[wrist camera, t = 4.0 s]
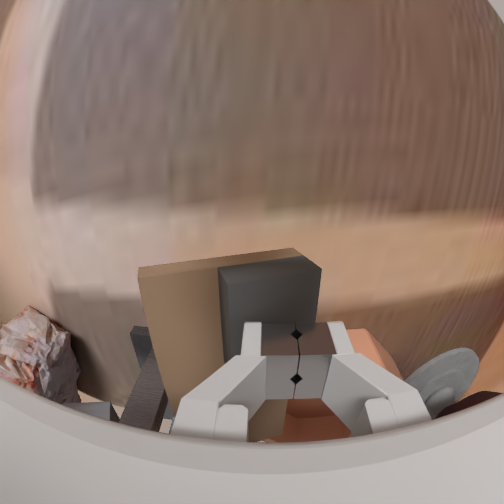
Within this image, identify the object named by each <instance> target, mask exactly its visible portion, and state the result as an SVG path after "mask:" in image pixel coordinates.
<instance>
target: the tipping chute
mask: <svg viewBox="0 0 504 504" xmlns="http://www.w3.org/2000/svg"><path fill="white" fill-rule="evenodd" d="M321 271H322V269H321V268H320V267H319V266H317V265H316V264H314V263H313V262H312V261H310V260H309V259H308V258H306V257H305V256H303V255H302V254H301V253H299V252H298V251H297V250H295V249H294V248H287V249H279V250H271V251H264V252H256V253H248V254H240V255H232V256H225V257H217V258H209V259H201V260H193V261H185V262H178V263H170V264H162V265H154V266H146V267H139V268H138V282H139V288H140V293H141V298H142V303H143V307H144V312H145V316H146V321H147V325H148V329H149V333H150V337H151V341H152V345H153V349H154V353H155V357H156V360H157V364H158V367H159V371H160V374H161V378H162V381H163V384H164V387H165V391H166V394H167V397H168V400H169V403H170V406H171V409H172V412H173V415H174V417H176V414H177V411H178V408H179V404H180V401H181V398H183V397H184V396H185V395H186V394H188V393H189V392H190V391H192V390H193V389H194V388H196V387H197V386H198V385H199V384H201V383H202V382H203V381H204V380H206V379H207V378H208V377H210V376H211V375H212V374H213V373H215V372H216V371H217V370H218V369H219V368H221V367H222V366H223V365H224V364H226V363H227V362H228V361H229V360H230V359H232V358H233V357H234V356H235V355H241V347H242V338H243V330H244V323H245V322H261V334H262V322H275V323H315V319H316V312H317V304H318V297H319V288H320V280H321ZM287 402H288V399H269V400H265V401H264V402H263V404H262V405H261V406H260V408H259V409H258V410H257V411H256V413H255V414H254V415H253V416H252V418H251V419H250V420H249V421H248V430H249V442H258V441H261V440H265V439H268V438H271V437H275V436H278V435H281V434H283V427H284V421H285V415H286V408H287ZM63 405H64V406H67V407H70V408H72V409H75V410H78V411H81V412H84V413H87V414H90V415H93V416H96V417H99V418H103V419H106V420H110V421H113V422H117V423H119V421H120V419H119V417H118V416H117V414H116V412H115V410H114V408H113V406H112V404H111V402H93V403H92V402H91V403H63Z"/></svg>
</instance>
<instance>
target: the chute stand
mask: <svg viewBox="0 0 504 504" xmlns="http://www.w3.org/2000/svg"><path fill="white" fill-rule="evenodd" d="M130 336H131V339H132V343H133V346H134V349H135V352H136V356H137V359H138V362H139V365H140V368H141V372H140V375H139V377H138V379H137V381H136V384H135V386H134V388H133V390H132V393H131V395H130V397H129V399H128V402H127V404H126V406H125V409H124V411H123V413H122V416H121V418H120V421H119V423H121V424H125V425H129V426H133V427H137V428H141V429H146V430H151V431H156V432H159V430H160V426H161V423H162V420H163V418H165V419H172V424H171V428H170V431H169V434H171V431H172V427H173V424H174V421H175V417H174V415H173V412H172V409H171V406H170V403H169V400H168V397H167V394H166V391H165V387H164V384H163V381H162V378H161V374H160V371H159V367H158V364H157V360H156V357H155V353H154V349H153V345H152V341H151V337H150V333H149V329H148V327H139V326H134V328H133V329H132V331H131V332H130Z"/></svg>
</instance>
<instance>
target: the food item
mask: <svg viewBox="0 0 504 504" xmlns="http://www.w3.org/2000/svg"><path fill="white" fill-rule="evenodd" d="M70 338H71V334H70V332H68V331H65V330H64V329H63V328H61V327H59V326H58V325H57V324H55V323H54V322H52V321H51V320H49V319H48V318H47V317H46V316H44V315H42V314H40V313H39V312H37V311H36V310H35V309H34V308H32V307H31V306H28V307H26V308H25V309H24V310H23V311H22V312H21V313H20V314H19V315H17V316H16V317H14V318H13V319H11V320H10V321H9V322H8V323H7V324H4V323H3V325H2V328H1V329H0V376H1V377H3V378H5V379H7V380H9V381H11V382H13V383H15V384H17V385H19V386H21V387H23V388H25V389H27V390H29V391H31V392H33V393H35V394H38V395H40V396H42V397H45V398H47V399H49V400H52V401H54V402H57V403H59V404H62V405H63V403H81V399H80V396H79V394H78V391H77V383H76V381H77V379H78V376H79V374H80V372H81V369H80V368H79V365H78V363H77V362H76V360H77V359H76V357H75V355H74V353H73V350H72V349H71V346H70Z"/></svg>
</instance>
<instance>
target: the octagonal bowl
mask: <svg viewBox="0 0 504 504" xmlns="http://www.w3.org/2000/svg"><path fill="white" fill-rule="evenodd" d="M346 331H347V333H348V336H349V338H350V341H351V343H352V346H353V348H354V351H355V353H361V354H362V355H364V356H365V357H367V358H368V359H370V360H371V361H373V362H374V363H376V364H378V365H379V366H381V367H382V368H384V369H385V370H387V371H388V372H390V373H392V374H393V375H395V376H396V377H398V378H399V379H401V380H402V381H404V380H403V378H402V376H401V374H400V372H399V370H398V368H397V367H396V365H395V363H394V361H393V359H392V357H391V355H390V354H389V353H388V352H387V351H386V350H385V349H384V347H383V346H382V345H381V344H380V343H379V342H378V341H377V340H376V339H375V338H374V337H373V336H372V335H371V334H370V332H369V331H368V330H367V329H366V330H365V329H350V330H346ZM351 432H352V431H351V430H350V429H349V428H348V427H347V426H346V425H345V424H344V423H343V422H342V421H341V420H340V419H339V418H338V417H337V416H336V415H335V414H334V412H333V411H332V410H331V409H330V408H329V407H328V406H327V405H326V404H325V403H324V402H323V401H322V398H310V399H294V395H293V399H288V402H287V408H286V415H285V421H284V427H283V434H281V435H278V436H275V437H271V438H268V439H265V440H262V441H264V442H267V443H284V442H308V441H322V440H332V439H341V438H349V436H350V434H351Z"/></svg>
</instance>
